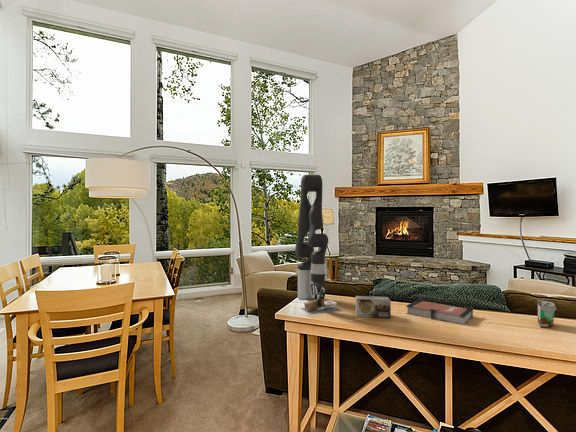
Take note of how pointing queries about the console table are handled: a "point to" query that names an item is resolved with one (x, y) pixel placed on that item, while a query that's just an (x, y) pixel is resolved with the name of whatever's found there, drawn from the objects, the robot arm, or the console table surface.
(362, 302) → the coffee box
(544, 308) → the food container
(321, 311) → the slate mat
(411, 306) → the book
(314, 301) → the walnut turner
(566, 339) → the console table surface
